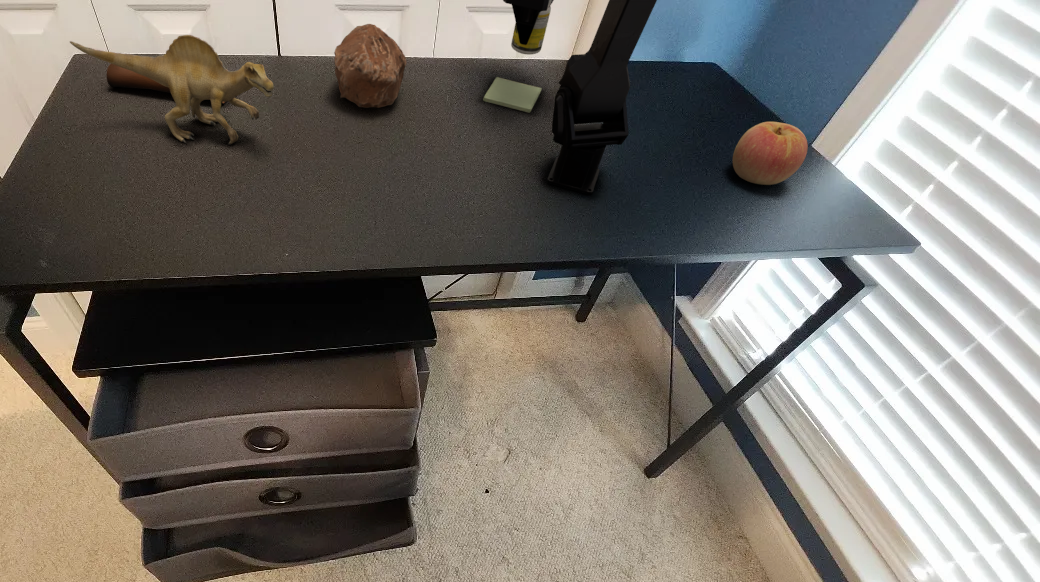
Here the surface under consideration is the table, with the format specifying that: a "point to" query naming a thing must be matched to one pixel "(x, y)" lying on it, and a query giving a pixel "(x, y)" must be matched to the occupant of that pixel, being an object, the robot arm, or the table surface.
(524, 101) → the mat
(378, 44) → the decorative rock
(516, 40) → the supplement bottle
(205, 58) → the dinosaur figurine
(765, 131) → the apple
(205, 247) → the table surface
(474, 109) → the table surface
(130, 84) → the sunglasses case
